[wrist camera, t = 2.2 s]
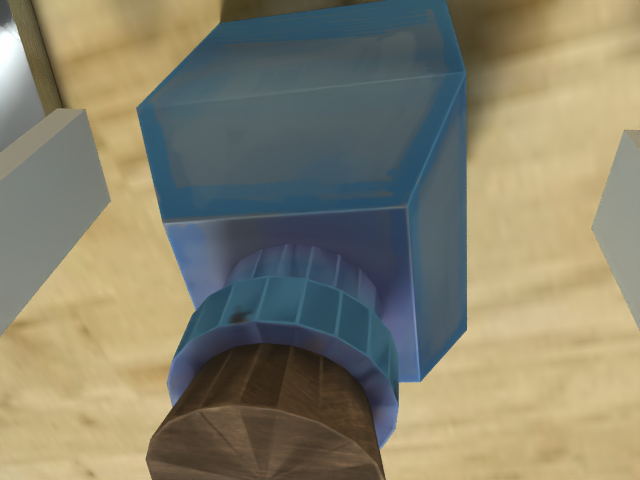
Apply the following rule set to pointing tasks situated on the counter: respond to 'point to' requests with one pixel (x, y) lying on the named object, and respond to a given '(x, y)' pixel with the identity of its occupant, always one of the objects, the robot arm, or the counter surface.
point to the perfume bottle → (309, 235)
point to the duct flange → (23, 73)
